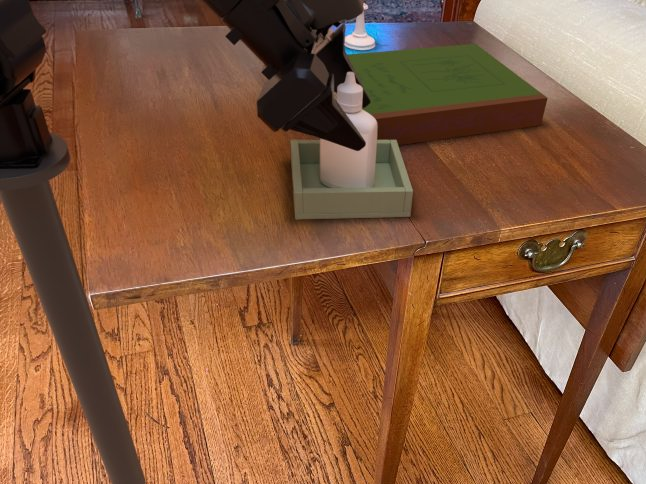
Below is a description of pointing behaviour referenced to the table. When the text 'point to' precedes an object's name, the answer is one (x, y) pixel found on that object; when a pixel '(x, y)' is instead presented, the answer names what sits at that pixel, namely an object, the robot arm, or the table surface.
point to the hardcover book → (444, 93)
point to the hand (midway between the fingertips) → (365, 125)
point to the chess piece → (360, 35)
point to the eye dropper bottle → (344, 163)
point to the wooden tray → (336, 203)
